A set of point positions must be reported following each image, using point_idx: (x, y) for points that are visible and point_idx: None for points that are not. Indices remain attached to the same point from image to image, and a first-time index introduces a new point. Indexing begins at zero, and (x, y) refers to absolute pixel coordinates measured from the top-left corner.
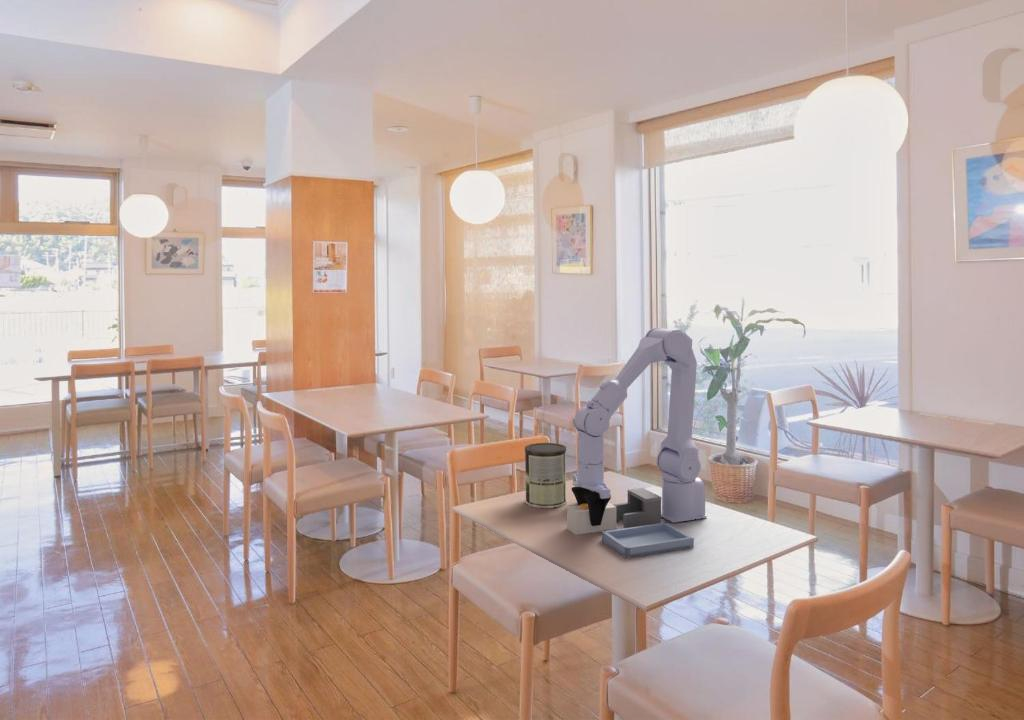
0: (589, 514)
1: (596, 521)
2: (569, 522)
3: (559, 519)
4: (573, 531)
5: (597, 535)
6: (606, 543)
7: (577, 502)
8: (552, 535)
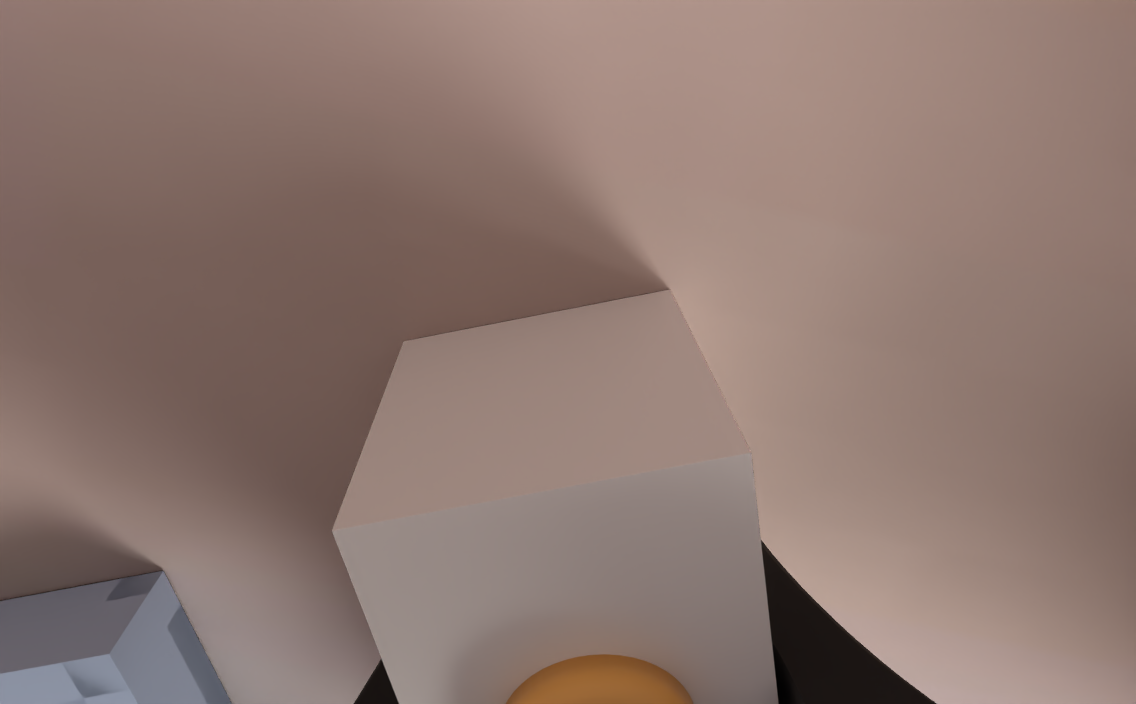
0: None
1: None
2: (597, 350)
3: (1069, 272)
4: (466, 339)
5: None
6: (48, 596)
7: (878, 677)
8: (421, 6)
